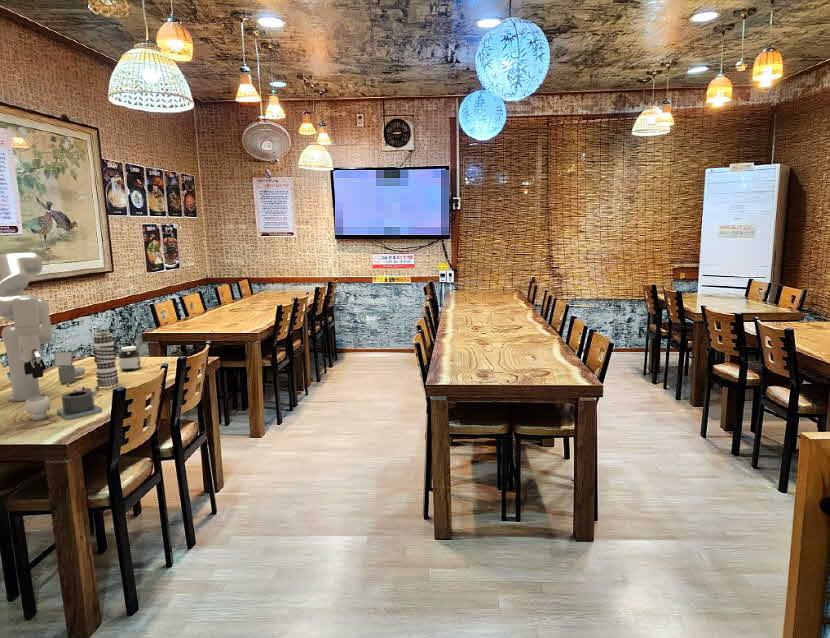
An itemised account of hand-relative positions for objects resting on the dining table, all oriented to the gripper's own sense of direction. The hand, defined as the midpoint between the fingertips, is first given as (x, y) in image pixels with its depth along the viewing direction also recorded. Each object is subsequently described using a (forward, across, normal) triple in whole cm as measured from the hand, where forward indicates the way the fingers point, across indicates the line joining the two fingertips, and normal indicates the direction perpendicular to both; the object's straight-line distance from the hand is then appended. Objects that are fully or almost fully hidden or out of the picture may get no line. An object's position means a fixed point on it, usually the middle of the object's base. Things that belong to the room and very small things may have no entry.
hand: (34, 375), depth 206 cm
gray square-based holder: (+17, +4, +12) cm, 21 cm away
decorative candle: (+16, -28, +34) cm, 47 cm away
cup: (+17, -1, 0) cm, 17 cm away
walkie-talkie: (+17, -20, +22) cm, 34 cm away
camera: (+16, -52, +27) cm, 61 cm away
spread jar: (+16, -54, +53) cm, 77 cm away
